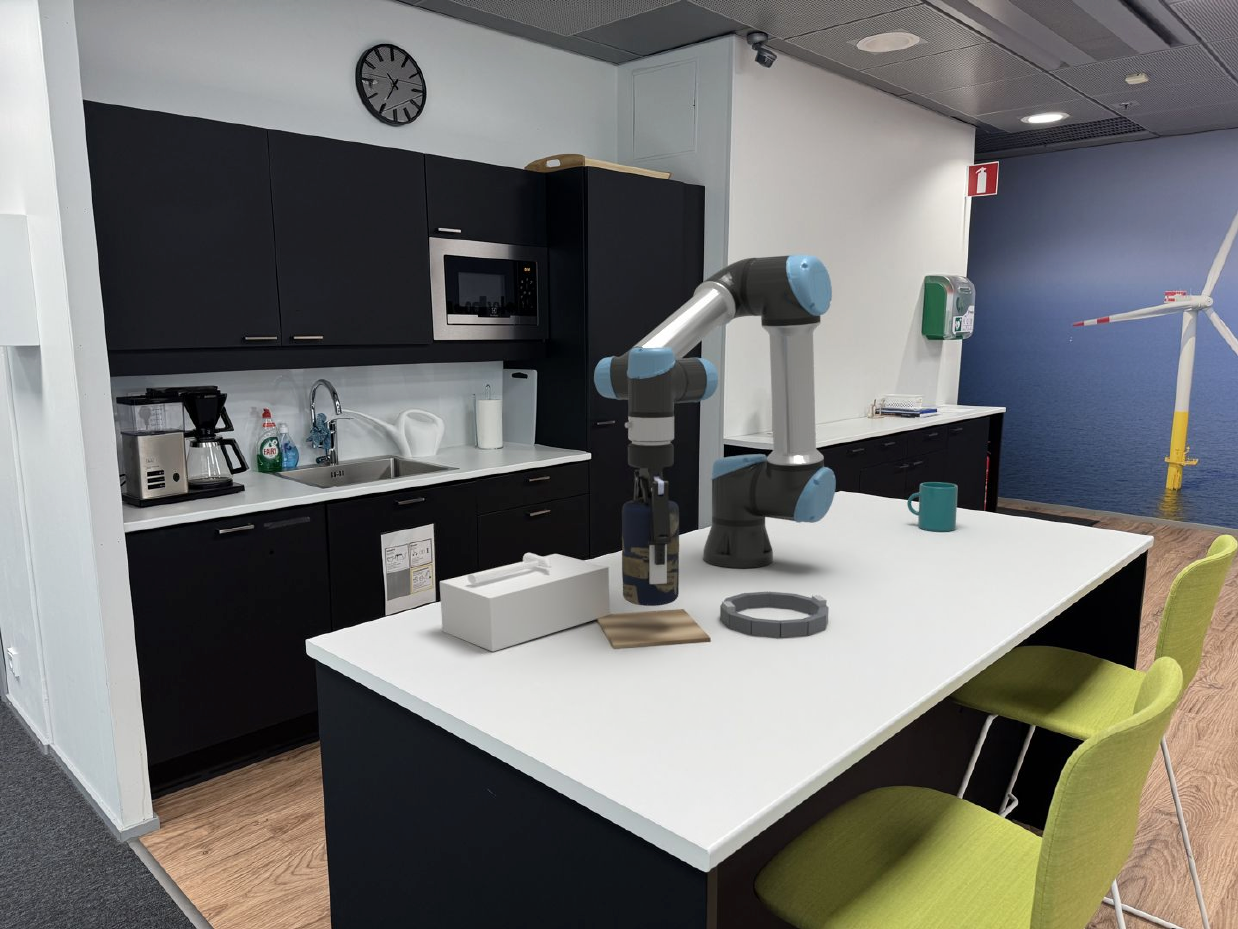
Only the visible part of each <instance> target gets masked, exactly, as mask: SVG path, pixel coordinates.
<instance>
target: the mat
mask: <svg viewBox="0 0 1238 929" xmlns="http://www.w3.org/2000/svg"><path fill="white" fill-rule="evenodd" d="M595 620H596V621H597V622H598V625H599V626H600V628H601V630H602V631H603V633H604V634H605V636H606V638H607V640H608V641H609V643H610V645H611V646H612V648H613V649H626V648H627V649H628V648H639V647H640V648H641V647H653V646H654V647H655V646H667V645H679V644H680V645H681V644H695V643H705V642H706V643H708V642H711V637H710V635H709V634H708V633H707V632H706V631H705V630H704V629H703V628H702V627H701V626H700V625H699V624H698V622H696V620H695V619H694V618H693V617H692V616H691V615H690V614H689V613H688V612H687V611H686V610H685V608H679V609H665V610H648V611H633V612H620V613H619V612H618V613H610V615H607V616H604V617H601V618H598V619H595Z"/></svg>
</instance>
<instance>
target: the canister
mask: <svg viewBox="0 0 1238 929" xmlns="http://www.w3.org/2000/svg"><path fill="white" fill-rule="evenodd" d="M643 499H644V498H643V497H641V498H638V499H637V500H634V499H632V500H629V501H626V502H625V503H624V504H623V505H622V508H621V519H622V520H621V523H622V524H621V525H622V526H621V531H622V532H621V540H622V542H621V543H622V547H621V548H622V549H621V550H622V552H621V575H622V579H621V580H622V596H623V598H624V600H625V601H627V602H628V603H630V604H633V605H637V606H644V607H645V606H646V607H647V606H648V607H655V606H656V607H657V606H664V605H668V604H672V603H674V602H675V601H676V600H677V599H678V597H679V593H680V592H679V590H680V589H679V584H680V581H679V580H680V579H679V578H680V576H679V574H680V566H679V565H680V564H679V563H680V562H679V561H680V556H679V554H680V508H679V505H678V504H677V502H675V501H674V500H670V499H669V515H670V532H671V543H668V544H667V583H663V584H650V583H649V559H650V545H647V542H648V541H649V540H651V533H650V513H651V514H653V509H652V508H651V509H649V506H647V505H645V504H644V500H643ZM659 536H663V535H659Z"/></svg>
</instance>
